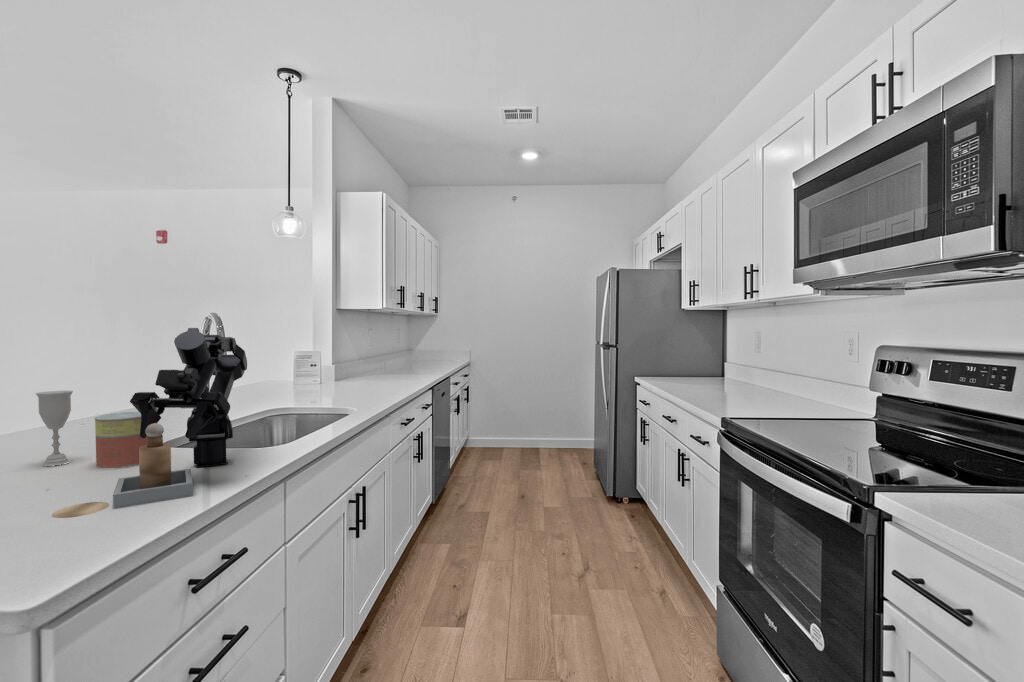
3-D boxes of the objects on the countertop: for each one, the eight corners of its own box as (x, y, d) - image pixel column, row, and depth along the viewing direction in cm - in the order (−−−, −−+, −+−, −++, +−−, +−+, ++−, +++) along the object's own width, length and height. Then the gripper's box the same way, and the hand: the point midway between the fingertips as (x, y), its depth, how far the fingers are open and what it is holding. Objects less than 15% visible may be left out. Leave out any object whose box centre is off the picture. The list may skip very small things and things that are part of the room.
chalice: (81, 461, 127) (79, 391, 126) (49, 469, 120) (47, 394, 120) (63, 459, 129) (61, 390, 129) (30, 466, 123) (28, 393, 122)
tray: (190, 482, 109) (190, 468, 109) (192, 498, 99) (192, 483, 99) (119, 493, 102) (118, 478, 102) (113, 511, 92) (112, 494, 92)
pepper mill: (169, 486, 105) (167, 419, 104) (173, 492, 101) (172, 423, 100) (138, 492, 101) (136, 423, 101) (142, 498, 97) (140, 427, 97)
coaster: (111, 502, 97) (111, 499, 97) (107, 514, 91) (106, 511, 91) (56, 510, 93) (56, 507, 93) (47, 524, 86) (47, 521, 86)
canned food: (163, 458, 131) (162, 412, 130) (121, 470, 119) (120, 420, 119) (127, 455, 133) (126, 411, 132) (83, 467, 122) (82, 418, 121)
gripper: (134, 355, 108) (95, 415, 98) (222, 355, 109) (192, 415, 98) (160, 386, 117) (126, 445, 106) (241, 386, 117) (216, 444, 106)
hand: (164, 437), depth 104 cm, fingers open, 9 cm apart
